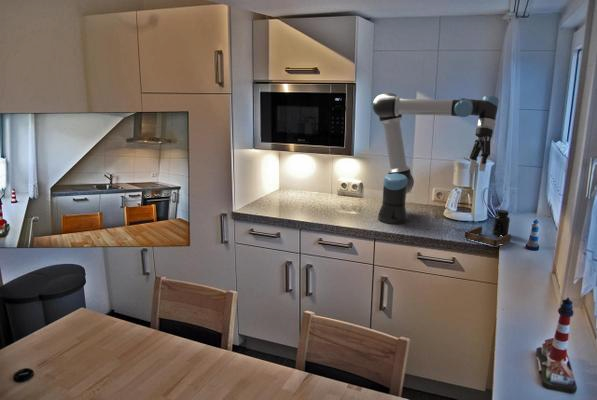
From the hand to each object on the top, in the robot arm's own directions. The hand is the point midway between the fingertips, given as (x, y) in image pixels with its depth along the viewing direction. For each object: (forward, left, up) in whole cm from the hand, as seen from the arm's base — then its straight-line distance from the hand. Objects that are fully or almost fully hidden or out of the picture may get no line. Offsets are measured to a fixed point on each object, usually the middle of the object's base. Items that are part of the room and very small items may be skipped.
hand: (476, 172), depth 224 cm
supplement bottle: (+14, +4, -29) cm, 32 cm away
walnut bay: (+14, -9, -29) cm, 33 cm away
